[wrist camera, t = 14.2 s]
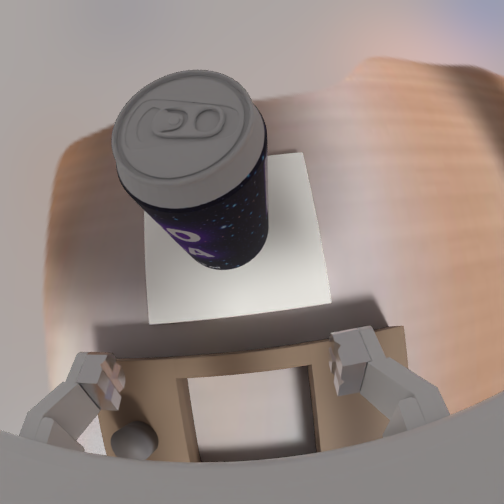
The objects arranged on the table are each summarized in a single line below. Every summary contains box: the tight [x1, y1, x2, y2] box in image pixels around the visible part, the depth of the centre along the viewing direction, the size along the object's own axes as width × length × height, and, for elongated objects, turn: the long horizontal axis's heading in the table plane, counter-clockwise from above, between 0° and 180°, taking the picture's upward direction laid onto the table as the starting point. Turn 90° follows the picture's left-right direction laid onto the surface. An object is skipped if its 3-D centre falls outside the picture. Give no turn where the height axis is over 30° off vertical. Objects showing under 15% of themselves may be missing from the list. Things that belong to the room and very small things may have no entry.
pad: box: [144, 152, 332, 325], centre depth 21 cm, size 12×11×1 cm
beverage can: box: [112, 70, 269, 270], centre depth 15 cm, size 6×6×12 cm
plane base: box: [98, 326, 408, 462], centre depth 16 cm, size 20×10×4 cm, turn 97°
